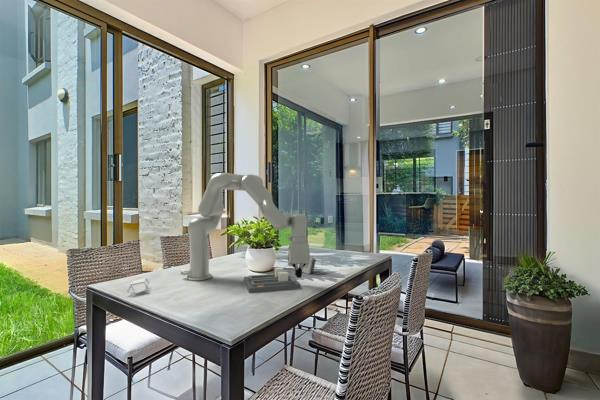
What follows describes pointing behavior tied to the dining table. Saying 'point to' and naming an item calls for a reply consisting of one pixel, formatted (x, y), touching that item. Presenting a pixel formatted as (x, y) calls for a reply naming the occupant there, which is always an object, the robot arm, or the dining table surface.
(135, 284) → the origami figure
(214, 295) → the dining table surface
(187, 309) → the dining table surface
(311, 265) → the electrical switch
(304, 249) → the robot arm
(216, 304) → the dining table surface
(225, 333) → the dining table surface
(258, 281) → the switch panel
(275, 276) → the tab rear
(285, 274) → the tab front
